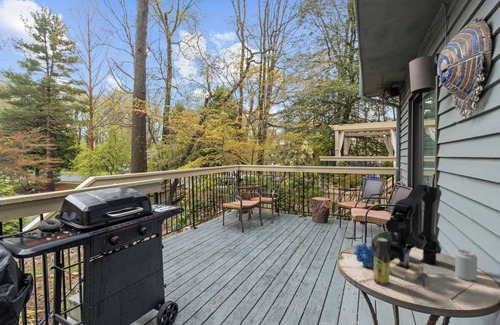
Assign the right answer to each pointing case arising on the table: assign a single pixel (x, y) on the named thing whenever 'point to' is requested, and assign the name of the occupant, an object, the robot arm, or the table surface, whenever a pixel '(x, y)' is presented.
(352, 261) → the table surface
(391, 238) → the squash
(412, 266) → the socket
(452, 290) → the table surface
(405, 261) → the peg
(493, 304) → the table surface
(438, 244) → the robot arm
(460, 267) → the can
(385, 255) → the sauce bottle
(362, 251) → the grapes
